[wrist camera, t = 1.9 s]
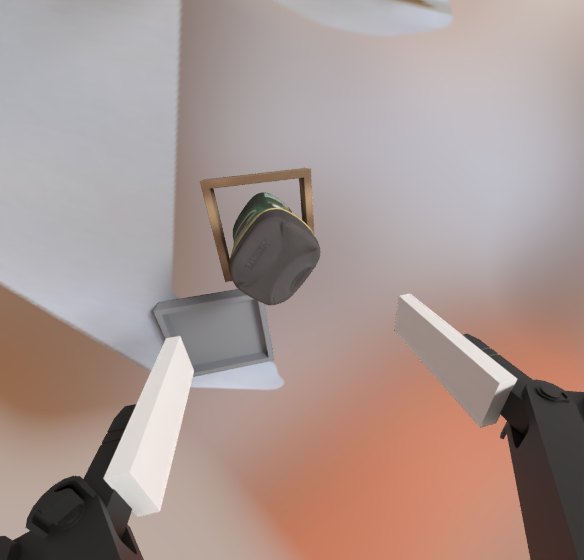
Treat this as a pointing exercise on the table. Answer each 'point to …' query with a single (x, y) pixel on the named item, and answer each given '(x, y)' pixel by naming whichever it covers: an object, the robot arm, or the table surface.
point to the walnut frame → (209, 184)
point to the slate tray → (218, 330)
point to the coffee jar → (271, 250)
